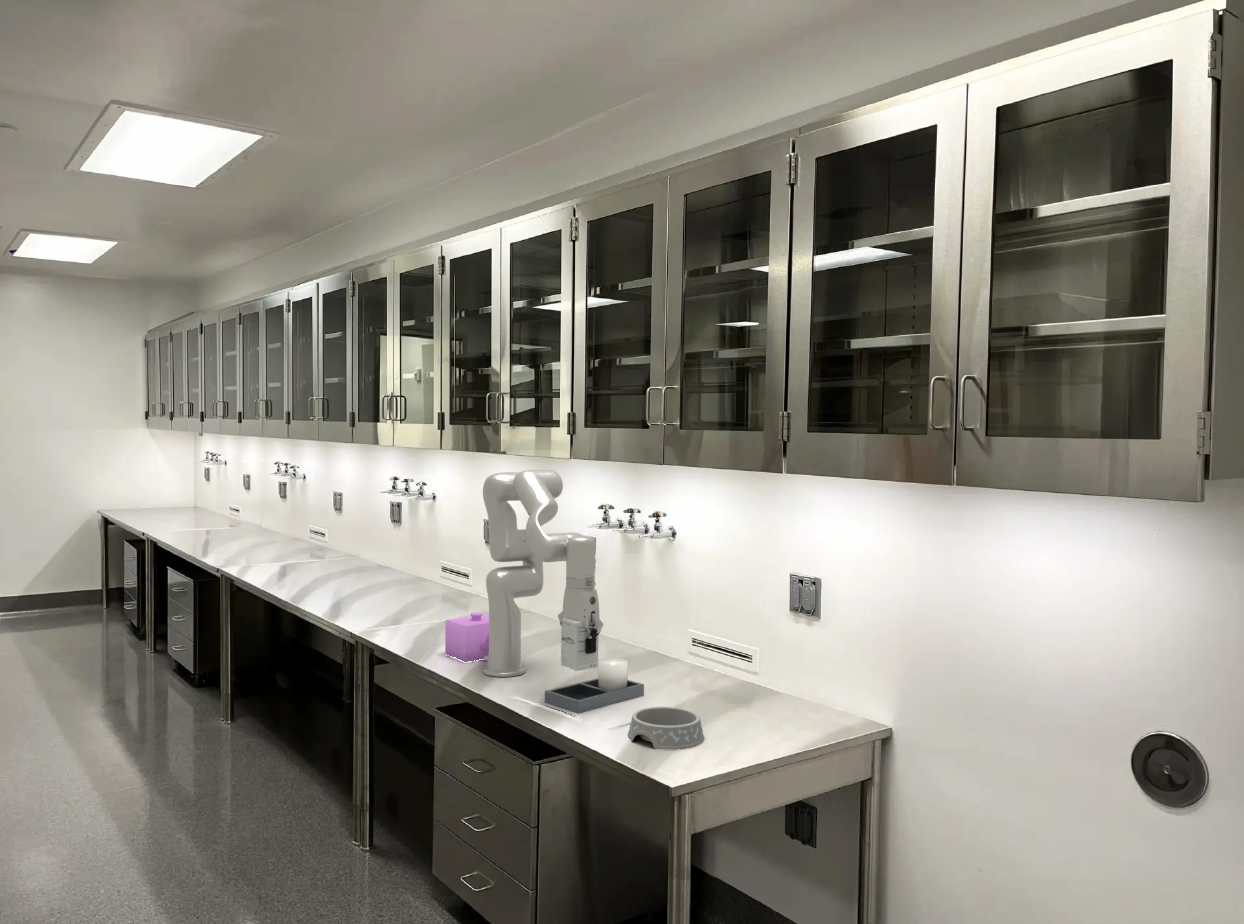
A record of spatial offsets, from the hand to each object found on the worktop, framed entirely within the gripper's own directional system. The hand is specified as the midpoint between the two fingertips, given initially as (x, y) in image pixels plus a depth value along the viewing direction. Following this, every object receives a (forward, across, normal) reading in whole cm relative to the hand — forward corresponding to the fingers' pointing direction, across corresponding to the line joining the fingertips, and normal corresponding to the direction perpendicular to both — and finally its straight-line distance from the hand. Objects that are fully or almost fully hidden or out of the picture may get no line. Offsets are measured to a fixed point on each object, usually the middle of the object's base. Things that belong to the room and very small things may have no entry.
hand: (579, 649), depth 238 cm
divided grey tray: (+15, 0, -6) cm, 16 cm away
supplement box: (+5, 0, 0) cm, 5 cm away
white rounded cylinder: (+14, 0, -12) cm, 19 cm away
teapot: (+15, +62, -12) cm, 65 cm away
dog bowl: (+16, -31, 0) cm, 35 cm away
